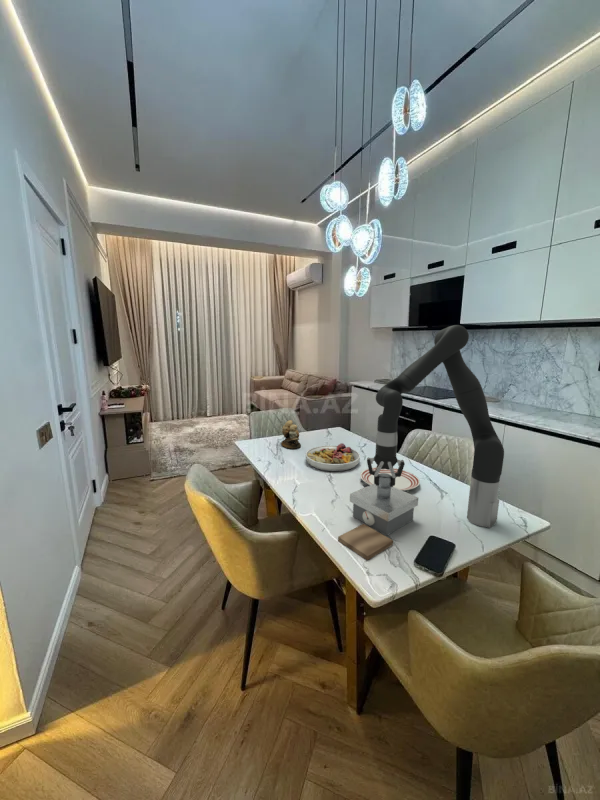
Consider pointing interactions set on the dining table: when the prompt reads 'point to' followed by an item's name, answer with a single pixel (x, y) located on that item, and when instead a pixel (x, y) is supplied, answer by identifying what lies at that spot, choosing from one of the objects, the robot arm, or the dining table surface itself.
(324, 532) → the dining table surface
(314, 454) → the bowl
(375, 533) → the walnut board
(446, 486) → the dining table surface
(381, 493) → the cylinder
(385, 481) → the cylinder
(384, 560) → the dining table surface
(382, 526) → the scale
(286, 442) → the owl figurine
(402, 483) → the dinner plate
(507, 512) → the dining table surface
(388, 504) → the pan
